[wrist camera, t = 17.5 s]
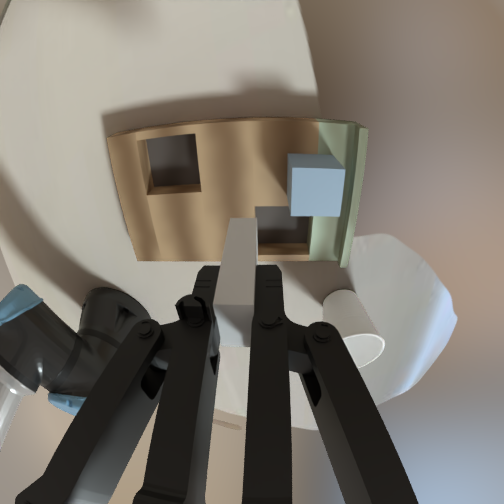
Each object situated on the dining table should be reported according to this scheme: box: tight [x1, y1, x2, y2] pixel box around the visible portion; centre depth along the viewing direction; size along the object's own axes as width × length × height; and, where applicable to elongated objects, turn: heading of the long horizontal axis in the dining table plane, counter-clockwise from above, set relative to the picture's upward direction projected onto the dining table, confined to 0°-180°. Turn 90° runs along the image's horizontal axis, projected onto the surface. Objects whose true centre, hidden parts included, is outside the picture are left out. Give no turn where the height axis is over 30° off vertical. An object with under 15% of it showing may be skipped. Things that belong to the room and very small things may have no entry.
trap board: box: [107, 117, 368, 268], centre depth 32 cm, size 29×18×4 cm, turn 92°
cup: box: [323, 290, 385, 368], centre depth 40 cm, size 10×10×11 cm
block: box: [287, 153, 345, 217], centre depth 27 cm, size 5×5×5 cm
